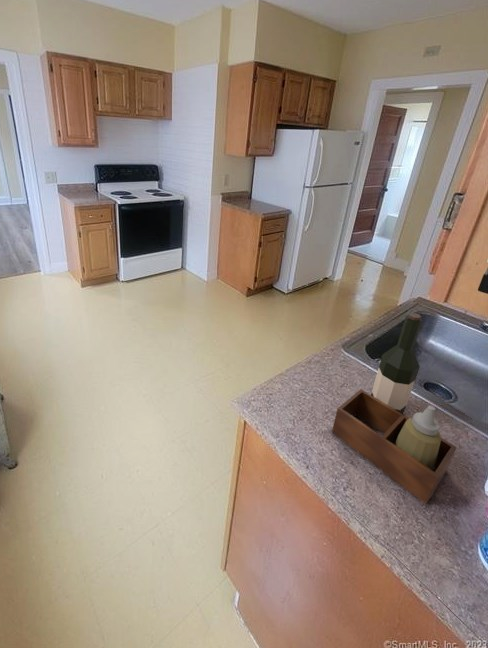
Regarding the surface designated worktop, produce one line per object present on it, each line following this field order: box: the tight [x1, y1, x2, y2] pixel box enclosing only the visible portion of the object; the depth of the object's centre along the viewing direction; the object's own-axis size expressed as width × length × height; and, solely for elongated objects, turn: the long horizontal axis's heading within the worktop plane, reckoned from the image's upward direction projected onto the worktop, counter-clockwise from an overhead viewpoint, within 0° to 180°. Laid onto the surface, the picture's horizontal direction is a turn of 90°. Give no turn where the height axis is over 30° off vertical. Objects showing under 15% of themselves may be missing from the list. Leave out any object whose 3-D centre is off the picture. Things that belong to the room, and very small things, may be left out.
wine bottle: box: [370, 312, 423, 415], centre depth 83 cm, size 8×8×30 cm
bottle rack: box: [331, 388, 458, 504], centre depth 75 cm, size 21×11×8 cm, turn 38°
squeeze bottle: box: [394, 405, 442, 472], centre depth 69 cm, size 8×8×18 cm
